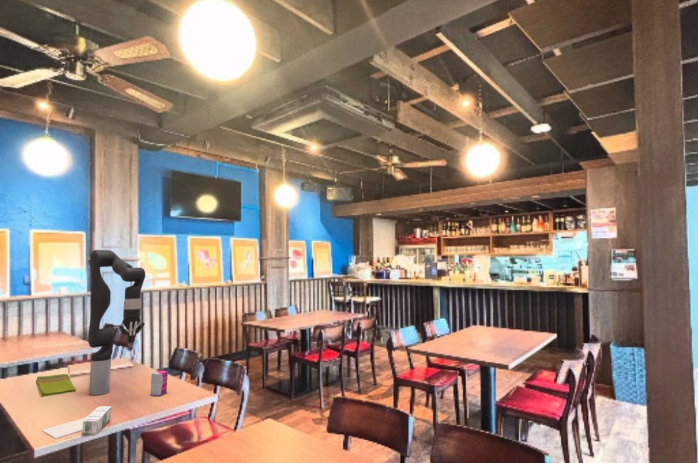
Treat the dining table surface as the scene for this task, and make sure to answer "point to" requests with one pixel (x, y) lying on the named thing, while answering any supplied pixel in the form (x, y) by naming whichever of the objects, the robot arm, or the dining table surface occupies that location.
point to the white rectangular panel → (65, 429)
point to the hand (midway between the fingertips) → (130, 343)
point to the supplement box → (158, 383)
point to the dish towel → (54, 385)
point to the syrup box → (96, 420)
